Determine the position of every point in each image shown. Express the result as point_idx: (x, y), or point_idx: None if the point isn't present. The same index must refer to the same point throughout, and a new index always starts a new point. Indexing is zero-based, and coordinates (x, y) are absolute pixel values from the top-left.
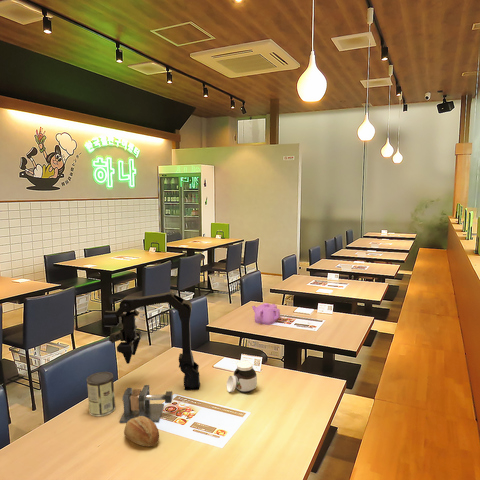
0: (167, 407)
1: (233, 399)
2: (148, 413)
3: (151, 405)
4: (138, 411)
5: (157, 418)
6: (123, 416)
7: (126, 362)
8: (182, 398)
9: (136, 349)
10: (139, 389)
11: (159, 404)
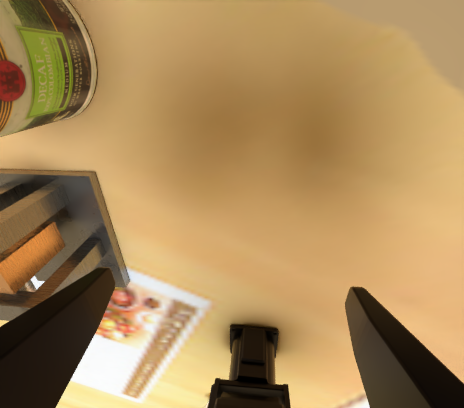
0: (123, 288)
1: (186, 392)
2: (57, 254)
3: (105, 256)
4: (56, 224)
5: (43, 277)
6: (5, 180)
7: (86, 276)
8: (180, 318)
9: (370, 398)
10: (7, 288)
11: (118, 276)
